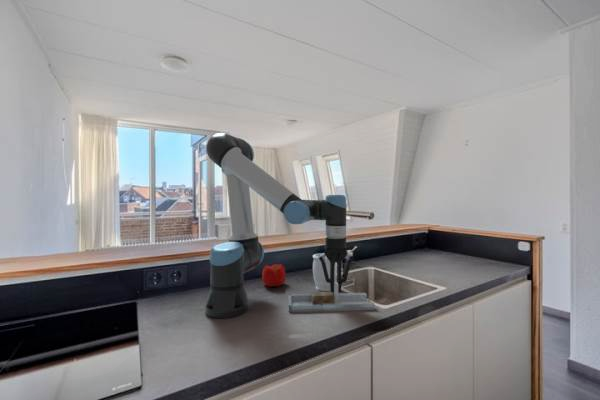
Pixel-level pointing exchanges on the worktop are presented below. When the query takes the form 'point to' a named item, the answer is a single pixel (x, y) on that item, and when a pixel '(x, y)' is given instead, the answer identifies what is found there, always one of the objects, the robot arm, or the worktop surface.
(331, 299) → the brown wooden cube
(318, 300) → the chip
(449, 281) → the worktop surface
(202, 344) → the worktop surface
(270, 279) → the tomato
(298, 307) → the slot rail
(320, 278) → the jar
